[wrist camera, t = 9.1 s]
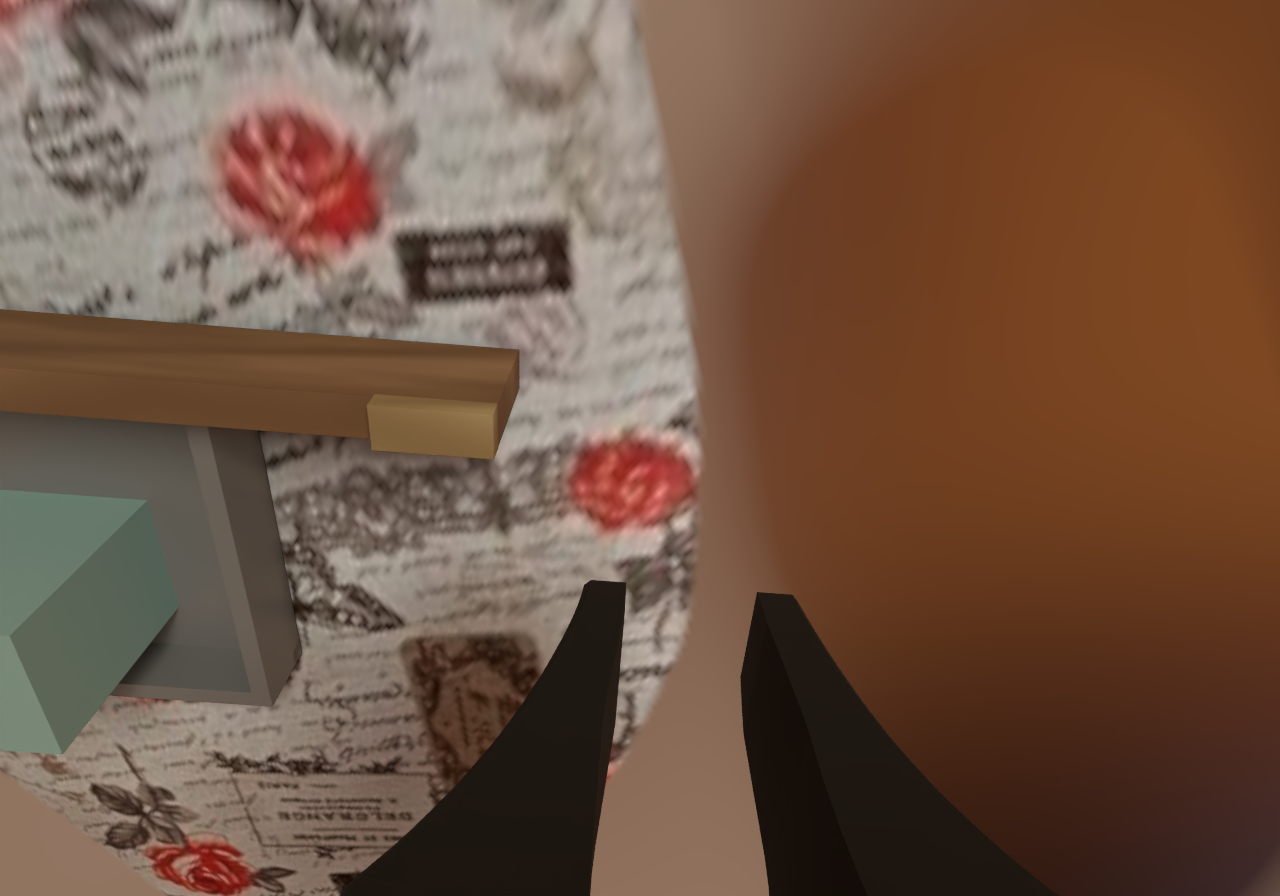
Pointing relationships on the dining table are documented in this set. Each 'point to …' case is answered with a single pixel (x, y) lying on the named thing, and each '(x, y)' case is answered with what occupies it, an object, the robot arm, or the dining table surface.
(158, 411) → the long wooden plank
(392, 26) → the dining table surface
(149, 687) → the grey open tray
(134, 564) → the block
